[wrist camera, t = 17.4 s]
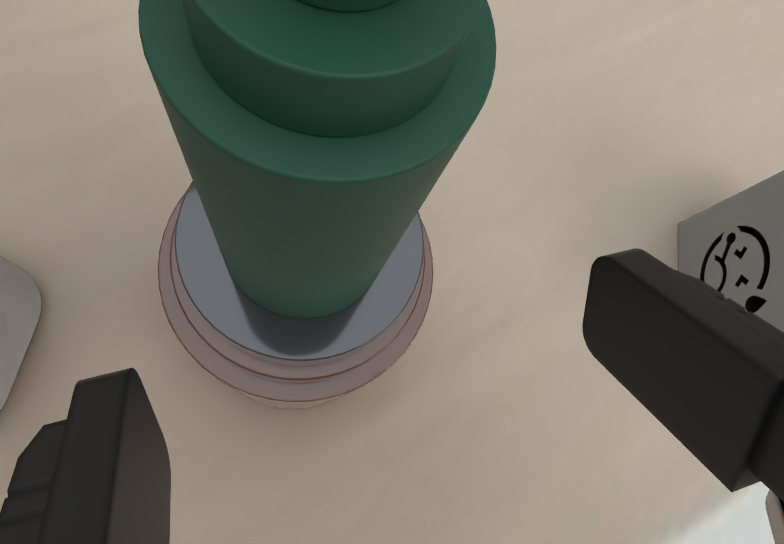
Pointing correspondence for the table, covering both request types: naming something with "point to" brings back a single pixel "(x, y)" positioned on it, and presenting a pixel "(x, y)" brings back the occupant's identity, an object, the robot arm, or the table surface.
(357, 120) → the green bottle
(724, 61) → the table surface
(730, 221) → the icon cube
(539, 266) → the table surface
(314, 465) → the table surface
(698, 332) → the robot arm
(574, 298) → the table surface
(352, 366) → the brown bottle
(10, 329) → the cable organizer
